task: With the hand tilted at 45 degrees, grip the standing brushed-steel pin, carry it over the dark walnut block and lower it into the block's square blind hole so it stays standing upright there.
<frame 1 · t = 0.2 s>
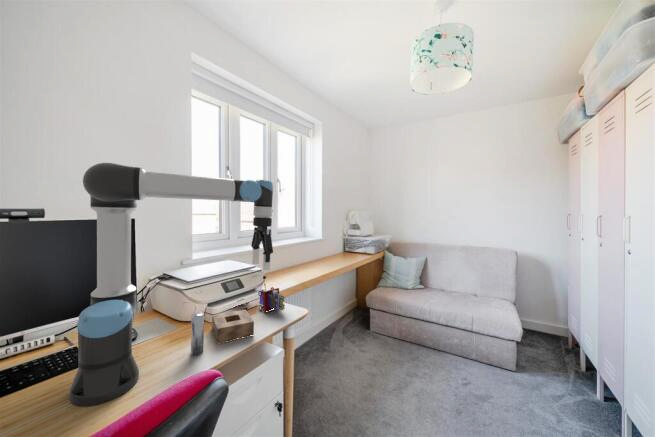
hand: (260, 266, 110), 28 cm above the table, tool pointing down, fingers open, 13 cm apart
walnut socket block: (232, 332, 109), on the table
steel pin: (197, 352, 93), on the table
robot toy: (271, 310, 133), on the table
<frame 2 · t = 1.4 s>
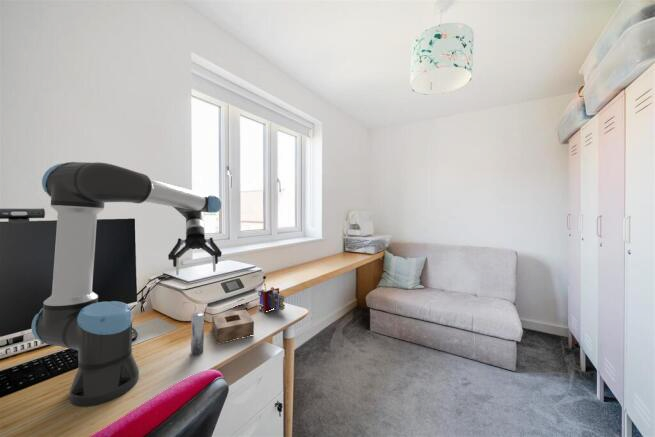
hand: (196, 271, 106), 26 cm above the table, tool tilted 45°, fingers open, 13 cm apart
nothing on the table moved.
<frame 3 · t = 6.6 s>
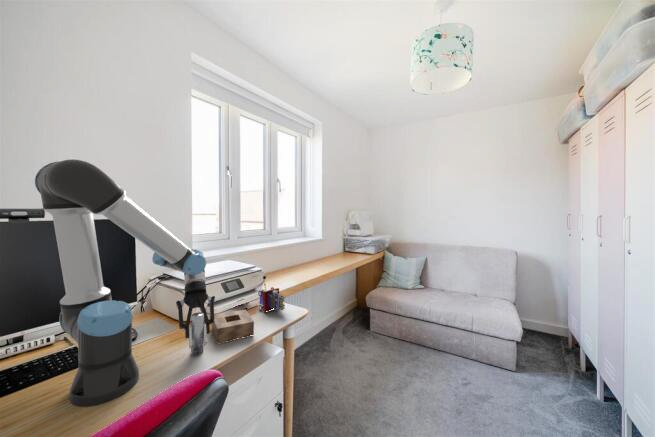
hand: (198, 345, 90), 5 cm above the table, tool tilted 45°, fingers closed on steel pin, 4 cm apart
steel pin: (197, 352, 93), on the table, touching gripper
everything else where it was.
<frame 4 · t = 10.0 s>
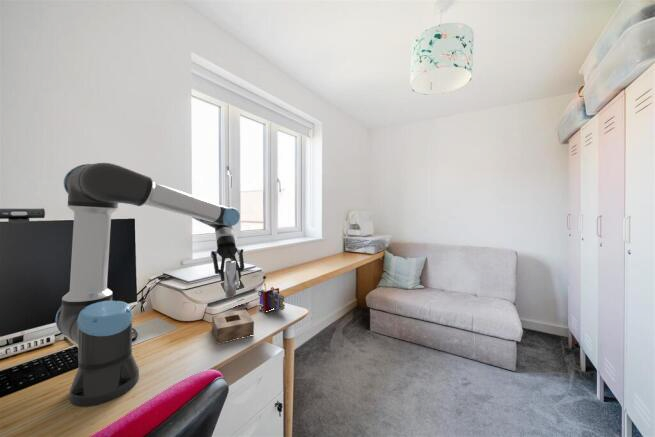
hand: (232, 286, 103), 21 cm above the table, tool tilted 45°, fingers closed on steel pin, 4 cm apart
steel pin: (230, 295, 107), point 16 cm above the table, touching gripper
everything else where it was.
when the fingers open (9 cm above the table, at t = 13.7 s): steel pin drops 2 cm, resting on walnut socket block.
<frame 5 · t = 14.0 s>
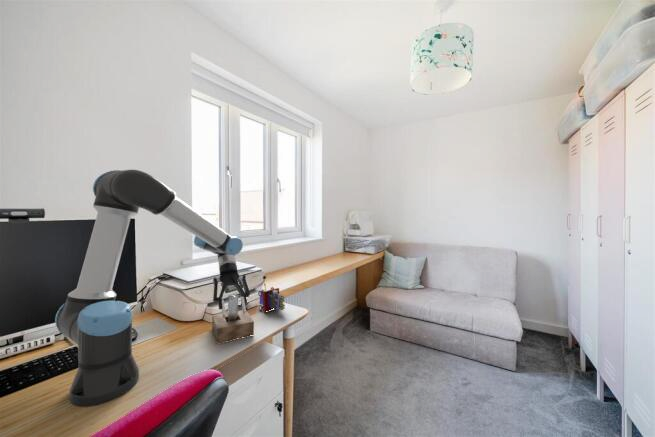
hand: (234, 314, 105), 9 cm above the table, tool tilted 45°, fingers open, 7 cm apart
steel pin: (232, 328, 109), point 2 cm above the table, touching walnut socket block
everything else where it was.
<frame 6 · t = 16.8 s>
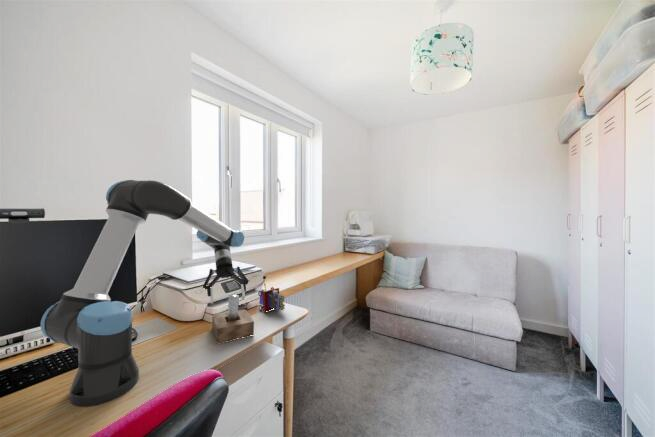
hand: (228, 300, 117), 10 cm above the table, tool tilted 45°, fingers open, 13 cm apart
nothing on the table moved.
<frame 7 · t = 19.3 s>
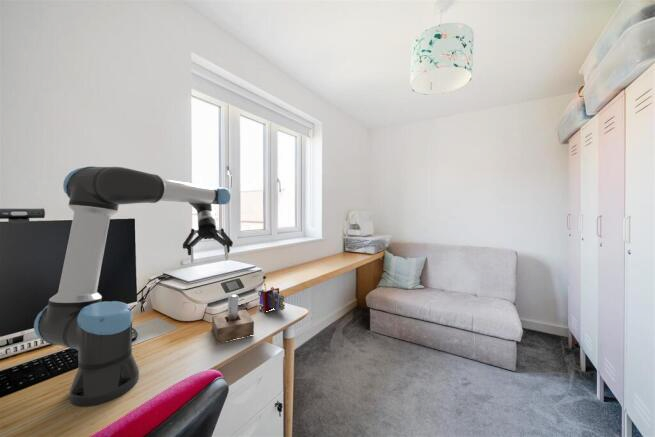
hand: (210, 259, 111), 30 cm above the table, tool tilted 45°, fingers open, 13 cm apart
nothing on the table moved.
at the end: steel pin 0.0 cm off-centre on the walnut socket block, point 1.5 cm above the walnut socket block's base; steel pin tilted 1°; the gripper is holding nothing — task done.
